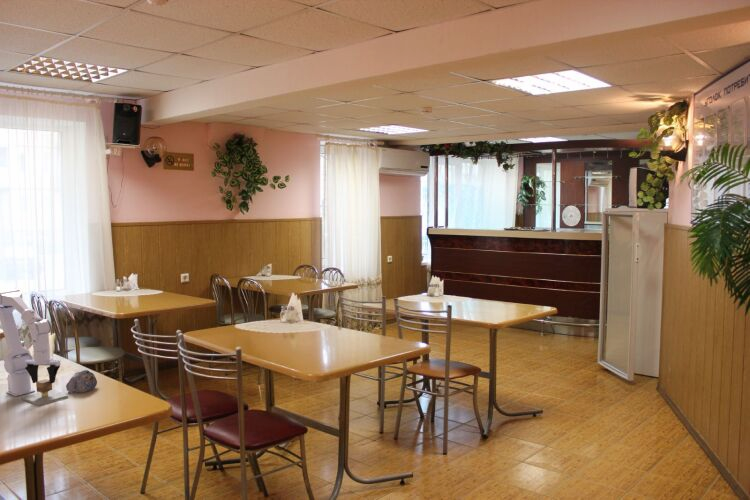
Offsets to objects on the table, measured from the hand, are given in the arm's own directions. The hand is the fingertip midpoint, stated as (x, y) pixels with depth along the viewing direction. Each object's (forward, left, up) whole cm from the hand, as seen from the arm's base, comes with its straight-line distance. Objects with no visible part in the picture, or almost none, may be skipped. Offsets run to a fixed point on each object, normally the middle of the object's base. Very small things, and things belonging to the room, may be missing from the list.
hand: (43, 382), depth 255 cm
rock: (+2, +14, -7) cm, 16 cm away
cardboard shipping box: (0, 0, -3) cm, 3 cm away
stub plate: (0, 0, -7) cm, 7 cm away
